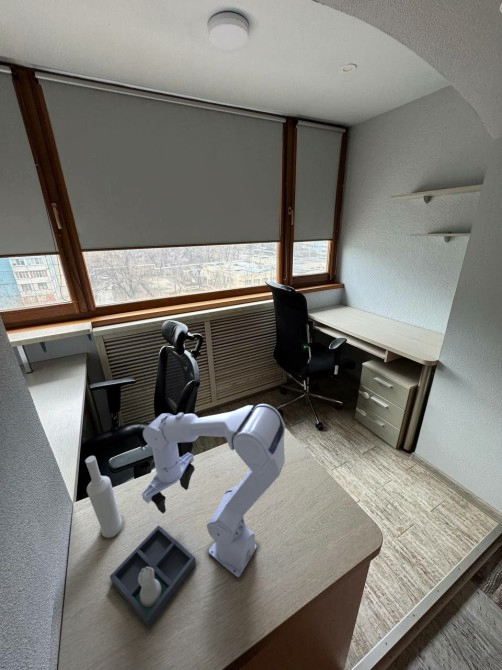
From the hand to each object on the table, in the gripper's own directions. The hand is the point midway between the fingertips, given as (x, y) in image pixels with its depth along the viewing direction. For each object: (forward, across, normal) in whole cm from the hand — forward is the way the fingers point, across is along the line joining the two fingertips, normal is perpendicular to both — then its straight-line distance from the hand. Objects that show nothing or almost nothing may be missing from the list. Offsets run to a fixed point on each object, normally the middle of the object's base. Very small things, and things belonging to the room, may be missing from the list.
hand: (173, 498), depth 70 cm
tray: (+9, +11, +4) cm, 15 cm away
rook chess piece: (+9, +14, +8) cm, 18 cm away
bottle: (+10, +11, -14) cm, 20 cm away
